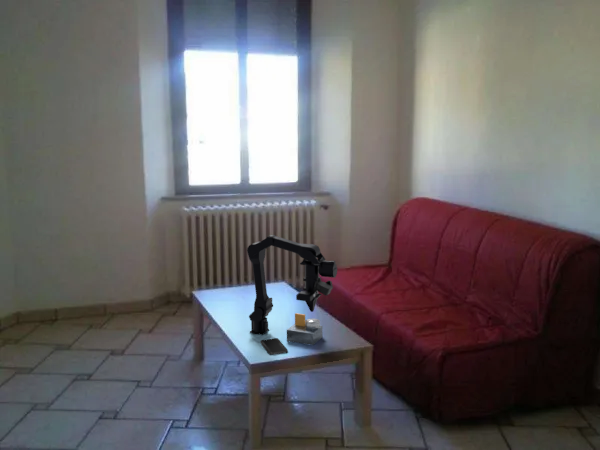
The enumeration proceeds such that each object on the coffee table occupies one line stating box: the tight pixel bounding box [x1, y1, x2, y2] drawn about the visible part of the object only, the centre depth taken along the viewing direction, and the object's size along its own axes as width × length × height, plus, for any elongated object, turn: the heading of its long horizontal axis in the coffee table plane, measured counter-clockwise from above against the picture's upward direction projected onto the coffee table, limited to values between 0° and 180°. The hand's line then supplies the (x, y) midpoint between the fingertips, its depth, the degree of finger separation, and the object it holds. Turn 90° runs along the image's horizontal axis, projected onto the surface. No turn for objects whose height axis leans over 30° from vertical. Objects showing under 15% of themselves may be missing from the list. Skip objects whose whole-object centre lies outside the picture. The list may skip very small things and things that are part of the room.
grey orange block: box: [294, 312, 306, 326], centre depth 250 cm, size 4×3×5 cm, turn 65°
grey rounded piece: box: [305, 318, 321, 330], centre depth 247 cm, size 6×6×7 cm
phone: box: [259, 337, 289, 356], centre depth 239 cm, size 8×1×15 cm
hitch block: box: [286, 323, 323, 346], centre depth 247 cm, size 12×10×5 cm
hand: (312, 311), depth 246 cm, fingers closed
